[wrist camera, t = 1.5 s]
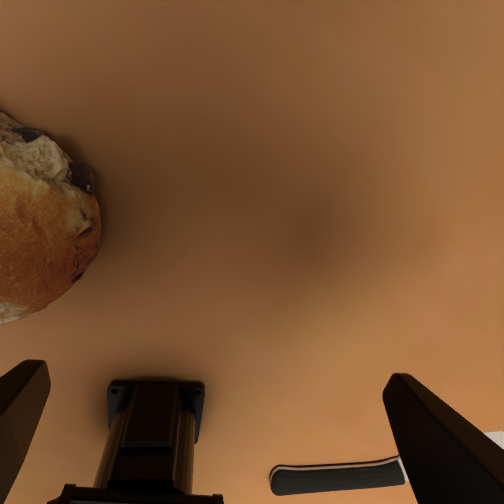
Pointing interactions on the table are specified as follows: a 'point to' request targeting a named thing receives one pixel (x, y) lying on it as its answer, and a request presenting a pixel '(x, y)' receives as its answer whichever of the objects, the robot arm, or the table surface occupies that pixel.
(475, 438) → the robot arm
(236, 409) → the table surface
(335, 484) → the kitchen cleaver
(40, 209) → the bread roll
